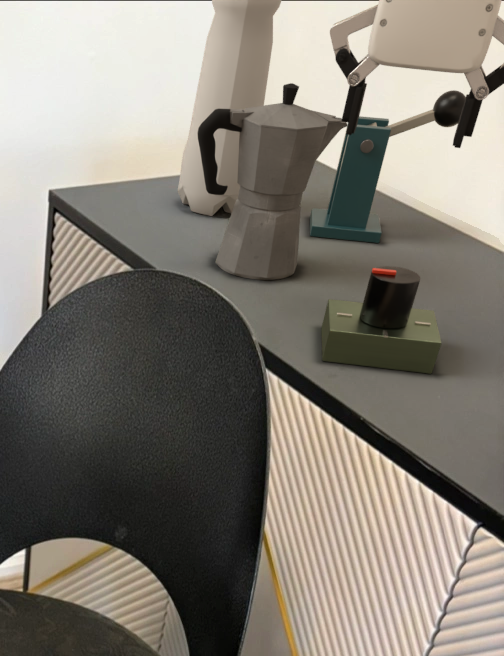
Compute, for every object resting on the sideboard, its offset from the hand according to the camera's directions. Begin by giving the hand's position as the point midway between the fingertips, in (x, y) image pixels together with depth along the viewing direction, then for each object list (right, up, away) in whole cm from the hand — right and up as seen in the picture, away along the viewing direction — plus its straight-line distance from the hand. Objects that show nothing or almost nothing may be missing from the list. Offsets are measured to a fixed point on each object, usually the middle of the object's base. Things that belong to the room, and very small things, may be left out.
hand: (403, 137), depth 104 cm
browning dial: (-1, -17, +1) cm, 17 cm away
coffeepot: (-10, -4, +20) cm, 22 cm away
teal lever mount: (+5, +4, +30) cm, 30 cm away
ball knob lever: (+10, +11, +22) cm, 27 cm away
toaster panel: (-2, -19, +3) cm, 19 cm away
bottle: (-10, +10, +35) cm, 38 cm away
